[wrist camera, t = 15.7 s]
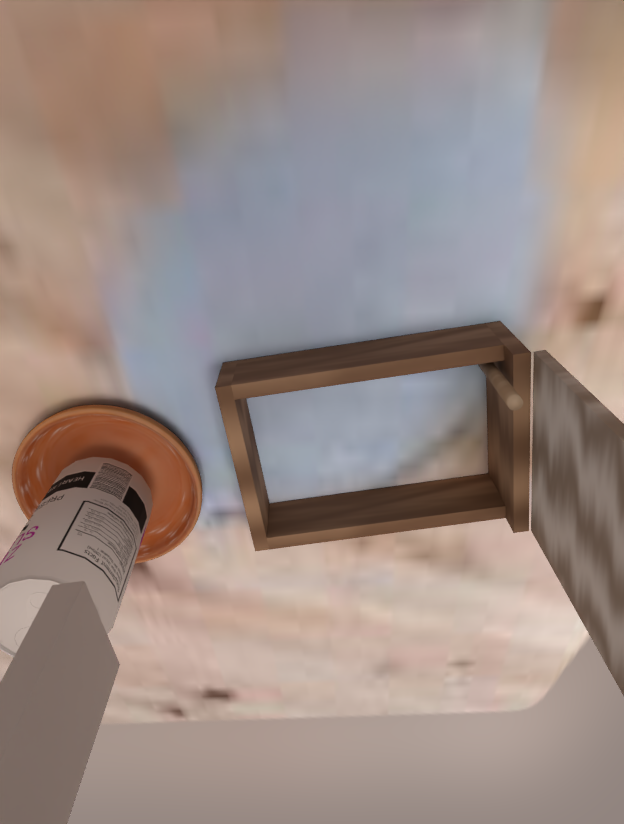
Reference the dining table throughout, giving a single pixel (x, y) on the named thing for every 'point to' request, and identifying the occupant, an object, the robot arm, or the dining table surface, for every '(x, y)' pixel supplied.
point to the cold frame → (473, 495)
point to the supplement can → (76, 544)
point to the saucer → (125, 442)
